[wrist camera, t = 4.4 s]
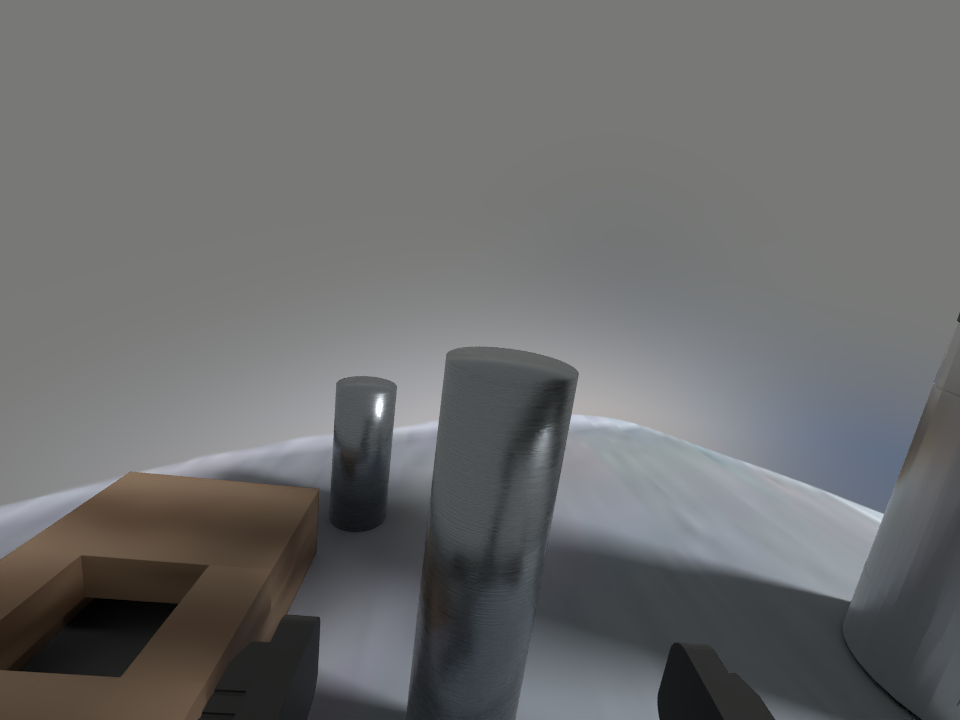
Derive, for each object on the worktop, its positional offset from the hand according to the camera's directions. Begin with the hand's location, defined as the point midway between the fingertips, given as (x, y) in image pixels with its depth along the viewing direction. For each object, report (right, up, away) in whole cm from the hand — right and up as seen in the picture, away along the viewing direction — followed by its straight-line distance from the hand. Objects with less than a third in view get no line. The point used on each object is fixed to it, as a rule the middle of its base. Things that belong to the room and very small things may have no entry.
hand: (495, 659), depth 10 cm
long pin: (-1, -8, +6) cm, 10 cm away
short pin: (-8, -3, +20) cm, 22 cm away
